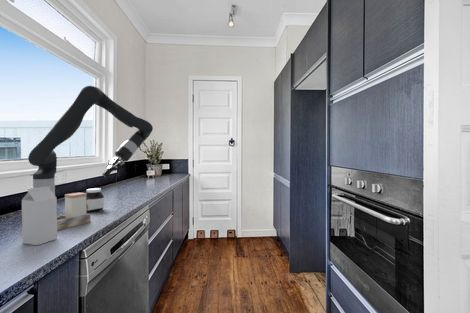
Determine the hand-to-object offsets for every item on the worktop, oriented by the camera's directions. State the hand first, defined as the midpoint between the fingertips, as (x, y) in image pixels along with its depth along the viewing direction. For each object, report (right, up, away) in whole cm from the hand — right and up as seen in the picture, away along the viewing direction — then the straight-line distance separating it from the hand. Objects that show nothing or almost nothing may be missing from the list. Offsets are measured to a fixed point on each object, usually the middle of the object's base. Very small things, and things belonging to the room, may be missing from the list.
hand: (104, 175), depth 122 cm
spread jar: (-13, -20, +11) cm, 26 cm away
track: (-9, -20, -14) cm, 26 cm away
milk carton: (-5, -21, -34) cm, 40 cm away
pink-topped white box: (-7, -18, -11) cm, 22 cm away
